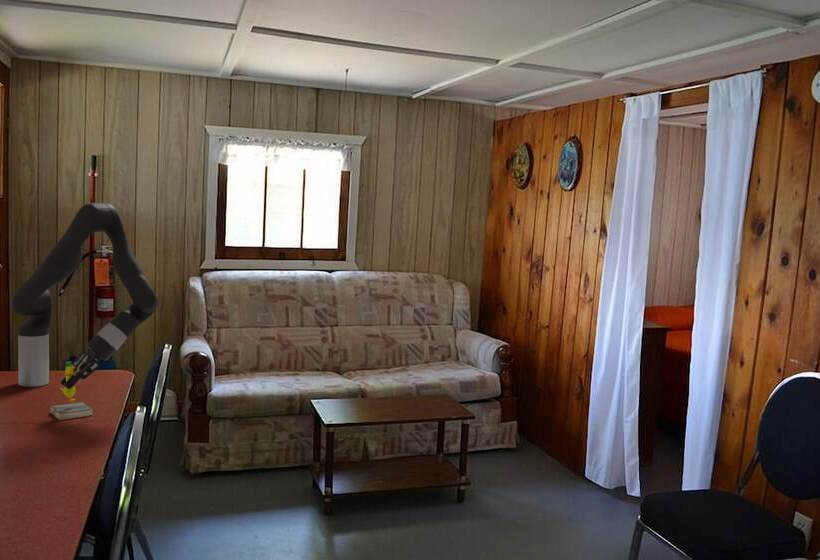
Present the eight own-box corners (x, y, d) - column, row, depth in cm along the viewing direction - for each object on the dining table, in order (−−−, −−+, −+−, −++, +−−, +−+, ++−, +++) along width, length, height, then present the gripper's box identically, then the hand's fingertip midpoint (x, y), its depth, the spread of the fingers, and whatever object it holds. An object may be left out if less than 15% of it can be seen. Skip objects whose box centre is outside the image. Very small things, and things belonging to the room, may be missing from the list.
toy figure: (85, 399, 212) (85, 360, 211) (84, 402, 208) (84, 362, 207) (60, 400, 209) (60, 360, 208) (59, 403, 206) (58, 363, 205)
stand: (50, 412, 210) (50, 406, 209) (82, 408, 216) (82, 401, 215) (59, 420, 203) (59, 413, 203) (92, 415, 209) (92, 408, 209)
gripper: (90, 330, 217) (48, 373, 210) (106, 337, 207) (61, 383, 200) (108, 345, 221) (67, 388, 214) (124, 353, 211) (81, 399, 204)
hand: (64, 385), depth 207 cm, fingers closed on toy figure, 3 cm apart
